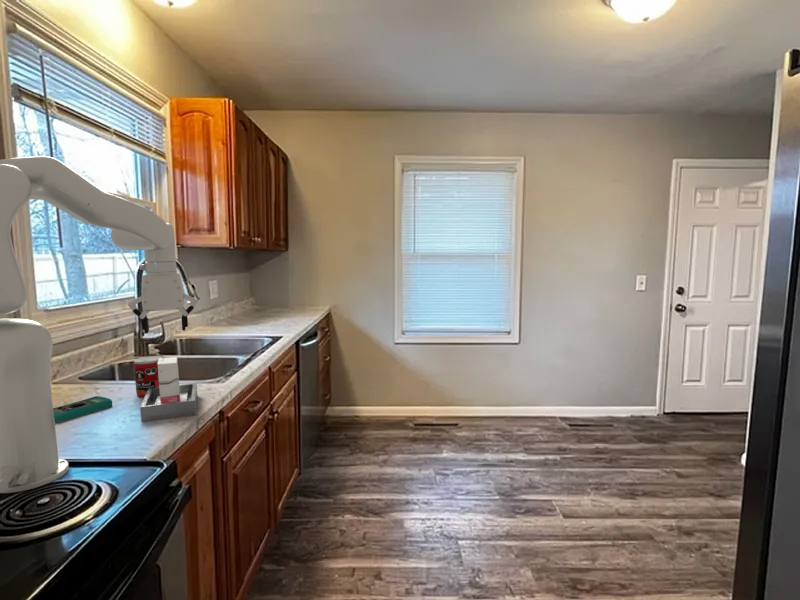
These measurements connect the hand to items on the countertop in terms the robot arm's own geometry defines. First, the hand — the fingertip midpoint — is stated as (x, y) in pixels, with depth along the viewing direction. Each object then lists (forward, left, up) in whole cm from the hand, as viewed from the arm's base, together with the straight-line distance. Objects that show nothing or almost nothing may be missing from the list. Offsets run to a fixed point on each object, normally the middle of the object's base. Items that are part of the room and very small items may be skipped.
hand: (165, 331), depth 130 cm
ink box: (0, 0, -20) cm, 20 cm away
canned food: (+18, +7, -22) cm, 29 cm away
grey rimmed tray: (0, 0, -22) cm, 22 cm away
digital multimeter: (+7, +23, -23) cm, 33 cm away
